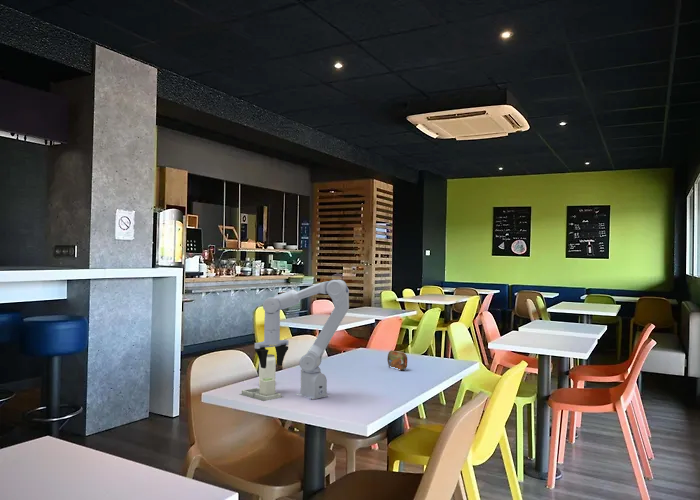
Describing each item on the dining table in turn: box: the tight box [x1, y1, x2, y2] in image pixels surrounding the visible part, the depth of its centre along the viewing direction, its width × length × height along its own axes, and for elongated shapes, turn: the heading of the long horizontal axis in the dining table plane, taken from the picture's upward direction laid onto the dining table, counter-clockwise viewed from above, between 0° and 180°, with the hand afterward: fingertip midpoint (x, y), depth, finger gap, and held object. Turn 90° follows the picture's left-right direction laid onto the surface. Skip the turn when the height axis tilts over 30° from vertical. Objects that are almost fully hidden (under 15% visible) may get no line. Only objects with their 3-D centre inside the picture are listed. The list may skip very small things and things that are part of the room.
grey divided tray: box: [238, 387, 284, 402], centre depth 196 cm, size 15×9×2 cm, turn 46°
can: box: [258, 354, 277, 386], centre depth 217 cm, size 6×6×12 cm
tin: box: [387, 350, 408, 371], centre depth 257 cm, size 15×3×8 cm, turn 25°
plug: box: [259, 378, 276, 396], centre depth 194 cm, size 4×4×7 cm
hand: (271, 366), depth 201 cm, fingers open, 7 cm apart
